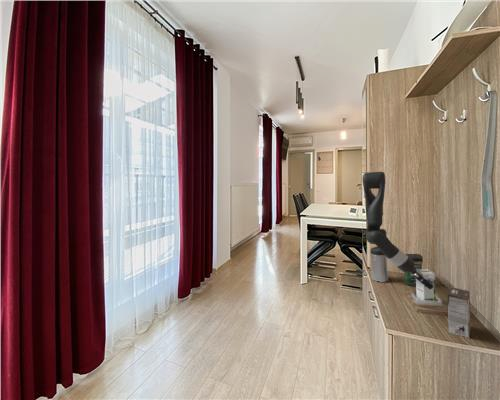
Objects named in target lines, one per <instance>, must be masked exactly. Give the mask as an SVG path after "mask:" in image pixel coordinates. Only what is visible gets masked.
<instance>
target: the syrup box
mask: <svg viewBox="0 0 500 400" xmlns="http://www.w3.org/2000/svg"><path fill="white" fill-rule="evenodd" d="M418 271H419V272H420V273H421V274H422V275H423V277H424V278H425V279H426V280H427V281H428V282H429V283H430V284H431V285H432V286H433V288H432V289H429V288H428V287H426V286H425V285H424V284H422V283H421V282H420V281H419V280H417V279H416V286H415V288H416V289H415V290H416V291H415V292H417V297H418V298H419V299H422V300H432V301H436V294H437V293H436V273H435V272H434V271H432V270H430V269H422V270H418ZM423 280H424V279H421V281H423Z"/></svg>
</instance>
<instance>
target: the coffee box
mask: <svg viewBox="0 0 500 400" xmlns="http://www.w3.org/2000/svg"><path fill="white" fill-rule="evenodd" d="M470 300H471V299H470V291H469V290H466V289H463V288H462V289H460V288H456V287H452V286H451V287H449V289H448V293H447V306H448V315H447V317H448V333H450V334H453V335H456V336H459V335H461V336H460V337H462V336H465V337H464V338H466V337H468V338H467V339H470V335H471V333H470V332H471V306H470V305H471V304H470V303H471V301H470Z"/></svg>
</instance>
